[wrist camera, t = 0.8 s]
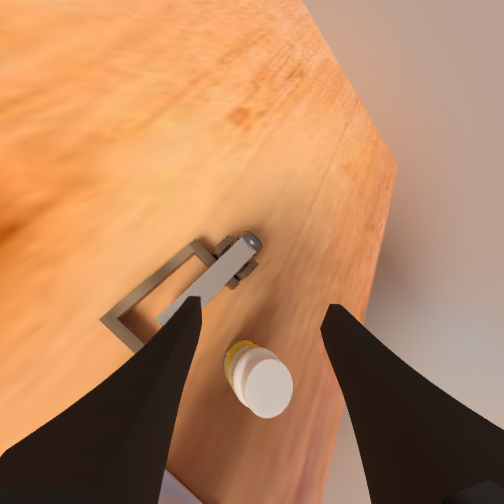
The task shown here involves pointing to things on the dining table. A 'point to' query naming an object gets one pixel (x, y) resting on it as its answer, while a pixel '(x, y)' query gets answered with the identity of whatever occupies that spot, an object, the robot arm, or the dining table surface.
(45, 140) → the dining table surface
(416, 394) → the robot arm
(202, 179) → the dining table surface
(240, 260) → the lock pin
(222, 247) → the mount
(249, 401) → the supplement bottle
